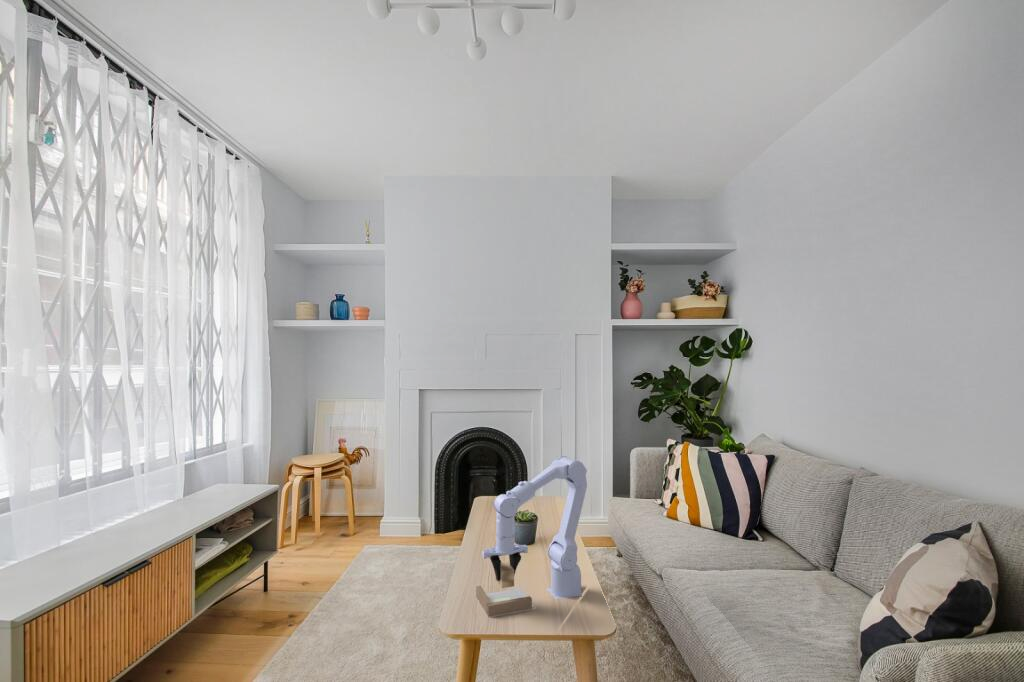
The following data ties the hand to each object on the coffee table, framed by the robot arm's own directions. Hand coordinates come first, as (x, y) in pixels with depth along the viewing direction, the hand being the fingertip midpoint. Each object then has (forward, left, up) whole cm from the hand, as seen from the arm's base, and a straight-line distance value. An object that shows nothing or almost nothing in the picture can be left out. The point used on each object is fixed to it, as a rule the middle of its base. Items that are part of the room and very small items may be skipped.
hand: (504, 578), depth 154 cm
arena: (0, -1, -8) cm, 8 cm away
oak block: (0, 0, -2) cm, 2 cm away
